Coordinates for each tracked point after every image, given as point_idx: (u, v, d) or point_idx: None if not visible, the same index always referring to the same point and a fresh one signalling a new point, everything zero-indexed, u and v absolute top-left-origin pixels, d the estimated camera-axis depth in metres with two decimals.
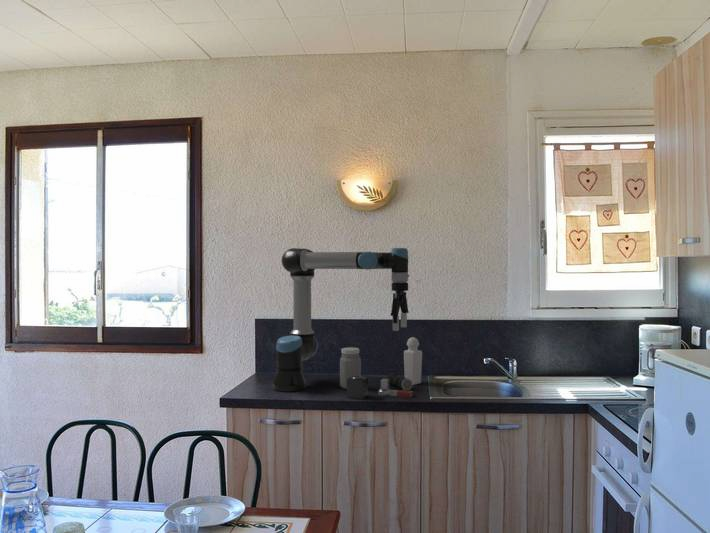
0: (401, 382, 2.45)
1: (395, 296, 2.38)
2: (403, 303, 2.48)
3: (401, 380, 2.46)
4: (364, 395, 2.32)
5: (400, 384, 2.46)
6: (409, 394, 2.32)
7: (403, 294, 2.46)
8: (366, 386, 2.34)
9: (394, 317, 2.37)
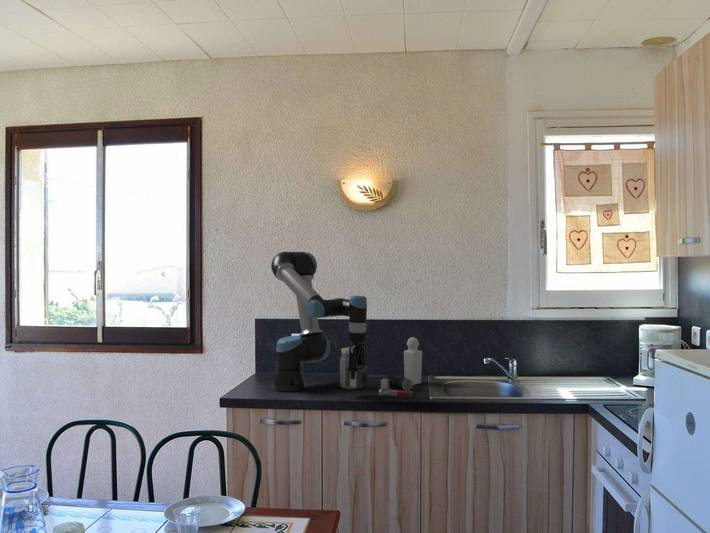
0: (402, 382, 2.45)
1: (351, 351, 2.28)
2: (360, 355, 2.36)
3: (401, 380, 2.46)
4: (363, 383, 2.32)
5: (401, 384, 2.46)
6: (409, 394, 2.32)
7: (361, 343, 2.36)
8: (365, 375, 2.35)
9: (352, 373, 2.29)
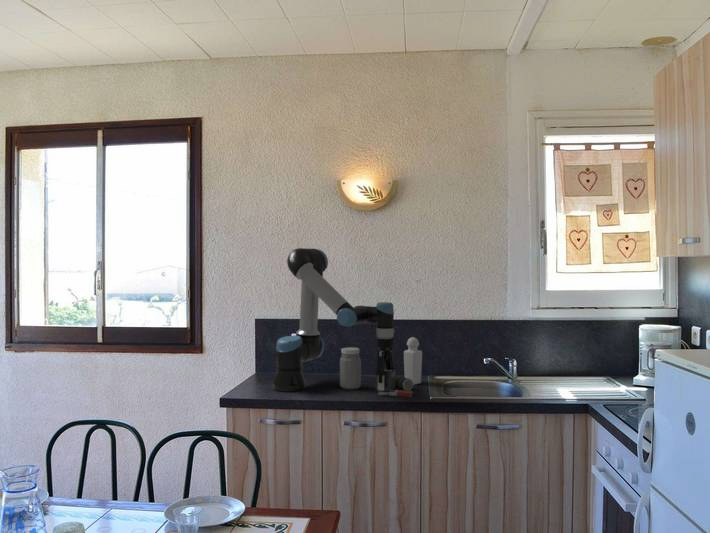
0: (402, 382, 2.45)
1: (380, 354, 2.31)
2: (388, 359, 2.40)
3: (402, 380, 2.46)
4: (392, 387, 2.36)
5: (401, 384, 2.45)
6: (409, 394, 2.32)
7: (388, 349, 2.39)
8: (394, 379, 2.38)
9: (379, 377, 2.31)
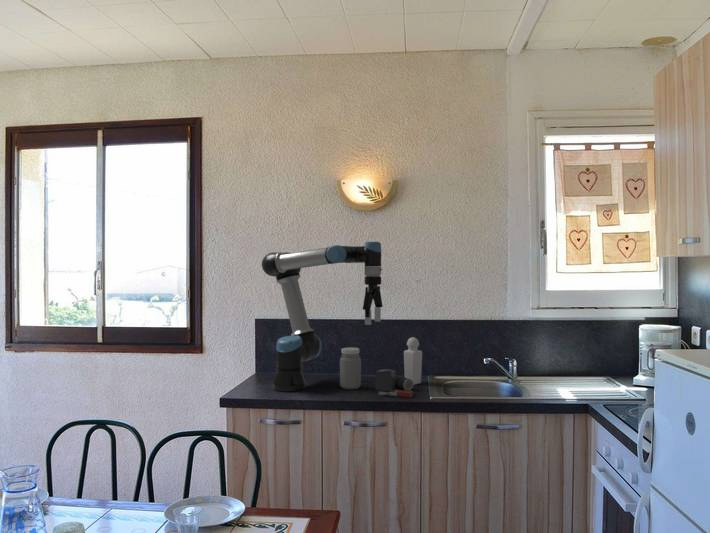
0: (403, 382, 2.45)
1: (367, 290, 2.37)
2: (376, 297, 2.47)
3: (402, 380, 2.46)
4: (392, 387, 2.36)
5: (402, 384, 2.45)
6: (409, 394, 2.32)
7: (376, 288, 2.45)
8: (394, 379, 2.38)
9: (366, 311, 2.36)
